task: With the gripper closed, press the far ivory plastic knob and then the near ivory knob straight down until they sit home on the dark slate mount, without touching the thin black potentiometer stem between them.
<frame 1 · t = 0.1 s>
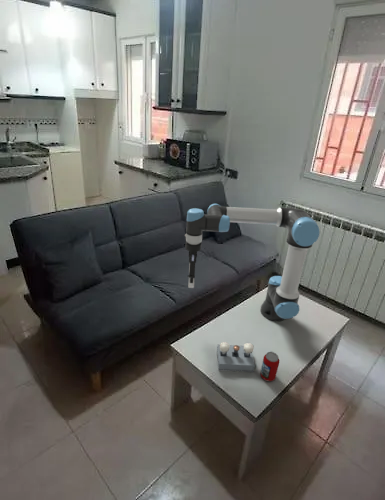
hand: (191, 279, 154), 28 cm above the table, fingers open, 13 cm apart
knob near: (248, 350, 142), point 7 cm above the table, slide at 0.0 cm
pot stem: (236, 350, 142), point 7 cm above the table, slide at 0.0 cm
beverage can: (267, 376, 138), on the table
mount: (234, 360, 145), on the table
knob far: (224, 349, 142), point 7 cm above the table, slide at 0.0 cm
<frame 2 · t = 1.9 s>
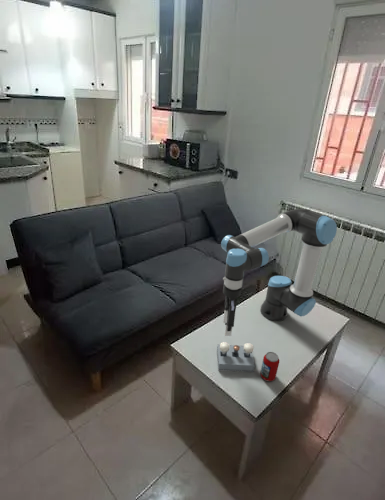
hand: (227, 328, 136), 19 cm above the table, fingers open, 8 cm apart
nothing on the table moved.
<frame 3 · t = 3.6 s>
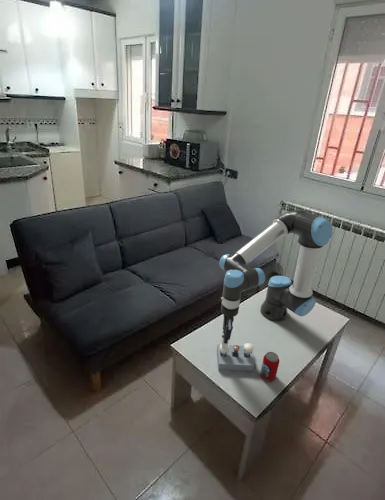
hand: (224, 346, 141), 9 cm above the table, fingers closed
knob far: (224, 350, 142), point 6 cm above the table, slide at 0.8 cm, touching gripper
everything else where it was.
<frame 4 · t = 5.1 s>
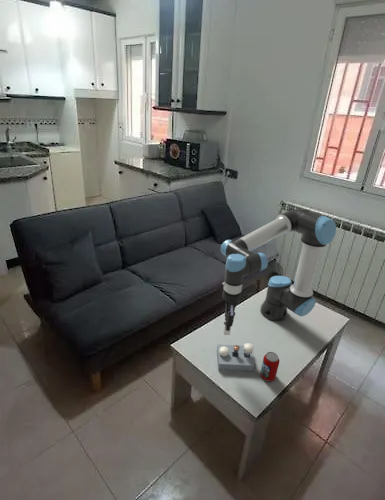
hand: (226, 333, 137), 16 cm above the table, fingers closed
knob far: (223, 353, 143), point 4 cm above the table, slide at 2.7 cm
everything else where it was.
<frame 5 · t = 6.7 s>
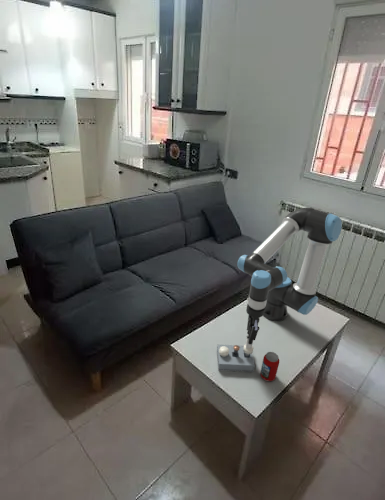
hand: (248, 347, 141), 9 cm above the table, fingers closed
knob near: (247, 351, 142), point 6 cm above the table, slide at 0.5 cm, touching gripper
everything else where it was.
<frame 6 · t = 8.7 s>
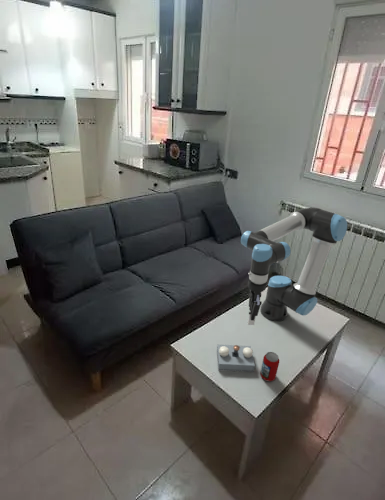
hand: (250, 323, 139), 20 cm above the table, fingers closed
knob near: (247, 354, 143), point 4 cm above the table, slide at 2.7 cm
everything else where it was.
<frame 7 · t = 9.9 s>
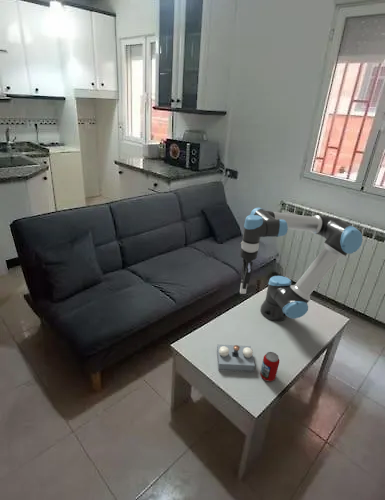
hand: (242, 292, 149), 26 cm above the table, fingers closed
nothing on the table moved.
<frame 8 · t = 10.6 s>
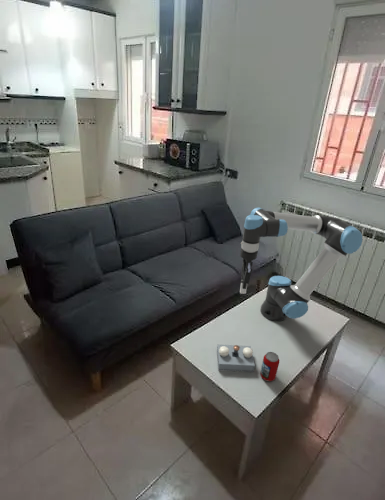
hand: (242, 292, 149), 26 cm above the table, fingers closed
nothing on the table moved.
at the end: knob far slide at 2.7 cm; knob near slide at 2.7 cm; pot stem slide at 0.0 cm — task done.
